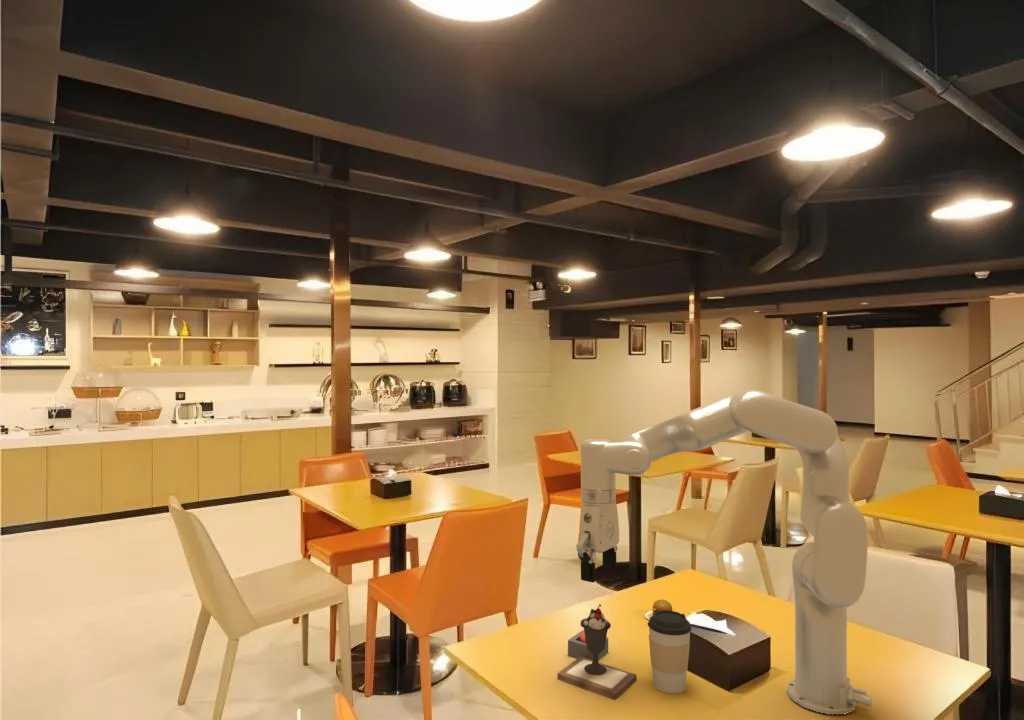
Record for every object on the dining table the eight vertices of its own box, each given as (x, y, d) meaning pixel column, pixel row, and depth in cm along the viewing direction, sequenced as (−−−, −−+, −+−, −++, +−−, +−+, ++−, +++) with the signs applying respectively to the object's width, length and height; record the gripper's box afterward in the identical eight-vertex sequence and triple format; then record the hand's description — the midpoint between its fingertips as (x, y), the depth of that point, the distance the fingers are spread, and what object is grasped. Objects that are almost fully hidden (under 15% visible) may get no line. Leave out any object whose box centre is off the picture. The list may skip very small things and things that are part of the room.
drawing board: (636, 680, 132) (636, 673, 132) (615, 700, 124) (615, 693, 124) (580, 661, 141) (580, 655, 141) (557, 678, 133) (557, 672, 133)
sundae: (601, 680, 129) (602, 609, 130) (574, 670, 133) (575, 602, 134) (616, 668, 135) (616, 600, 135) (589, 659, 139) (590, 593, 139)
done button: (599, 642, 145) (599, 634, 145) (591, 648, 142) (591, 639, 142) (585, 638, 147) (585, 629, 147) (577, 643, 144) (577, 635, 144)
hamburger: (633, 612, 171) (633, 592, 171) (674, 611, 173) (675, 591, 173) (647, 630, 159) (647, 609, 160) (691, 629, 161) (691, 608, 161)
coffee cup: (649, 694, 127) (649, 621, 127) (645, 673, 136) (646, 605, 136) (694, 697, 125) (694, 624, 126) (687, 676, 134) (687, 607, 135)
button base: (608, 652, 145) (608, 637, 145) (594, 663, 140) (594, 648, 140) (582, 644, 149) (582, 630, 150) (567, 655, 144) (567, 640, 144)
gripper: (594, 505, 124) (595, 589, 124) (631, 491, 138) (632, 567, 138) (562, 500, 128) (563, 582, 128) (601, 488, 142) (602, 561, 142)
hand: (599, 574), depth 133 cm, fingers open, 9 cm apart
